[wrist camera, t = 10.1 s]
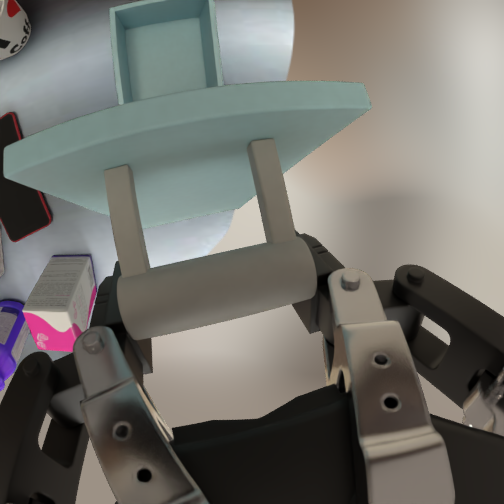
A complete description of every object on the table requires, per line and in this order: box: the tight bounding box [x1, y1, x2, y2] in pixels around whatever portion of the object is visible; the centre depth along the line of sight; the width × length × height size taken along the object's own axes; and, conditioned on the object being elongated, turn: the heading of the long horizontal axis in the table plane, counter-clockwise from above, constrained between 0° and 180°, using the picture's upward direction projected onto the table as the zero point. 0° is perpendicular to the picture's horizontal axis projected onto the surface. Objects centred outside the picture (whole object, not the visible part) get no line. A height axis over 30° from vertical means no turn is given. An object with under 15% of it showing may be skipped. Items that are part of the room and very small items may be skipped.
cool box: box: [109, 0, 224, 105], centre depth 25 cm, size 20×9×8 cm, turn 6°
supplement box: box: [22, 255, 97, 352], centre depth 29 cm, size 6×6×12 cm
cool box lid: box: [3, 81, 372, 340], centre depth 16 cm, size 21×9×5 cm
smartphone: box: [0, 112, 51, 242], centre depth 25 cm, size 7×1×15 cm
